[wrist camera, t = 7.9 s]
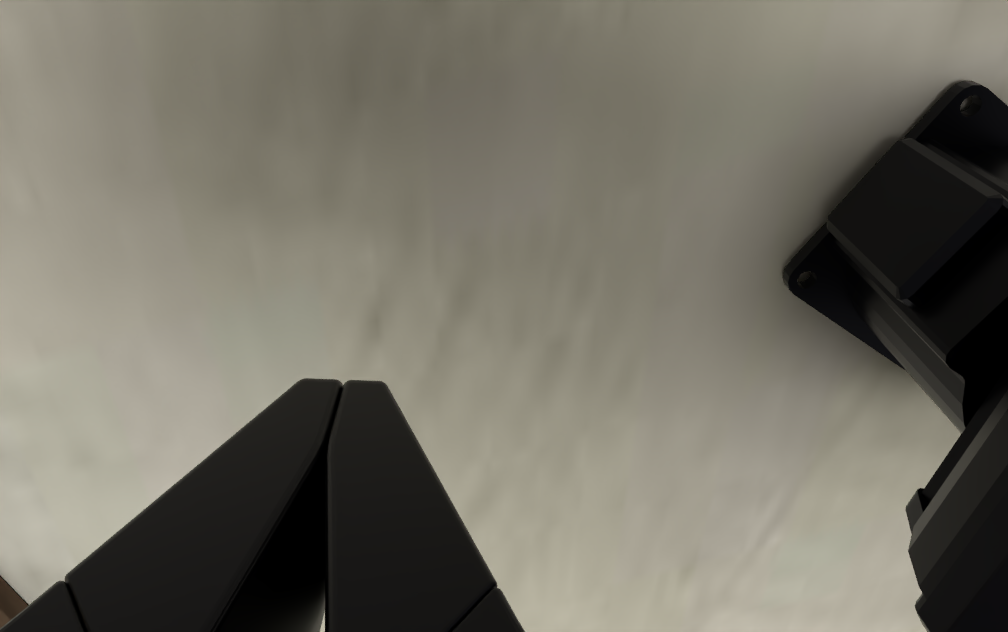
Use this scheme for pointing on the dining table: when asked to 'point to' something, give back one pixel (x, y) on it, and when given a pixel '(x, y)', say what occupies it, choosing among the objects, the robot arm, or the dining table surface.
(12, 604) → the pencil box
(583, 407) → the dining table surface
